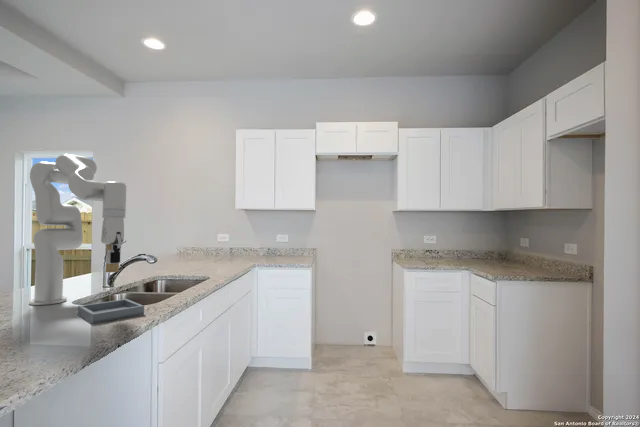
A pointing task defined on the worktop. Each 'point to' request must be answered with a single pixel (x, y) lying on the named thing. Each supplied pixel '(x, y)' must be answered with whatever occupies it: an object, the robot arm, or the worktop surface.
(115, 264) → the sprinkles bottle
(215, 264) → the worktop surface
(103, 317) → the tray
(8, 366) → the worktop surface
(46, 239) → the robot arm
